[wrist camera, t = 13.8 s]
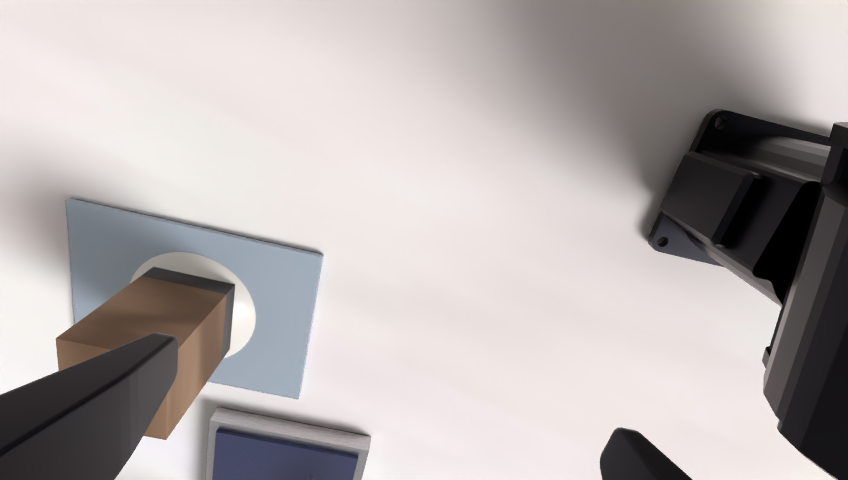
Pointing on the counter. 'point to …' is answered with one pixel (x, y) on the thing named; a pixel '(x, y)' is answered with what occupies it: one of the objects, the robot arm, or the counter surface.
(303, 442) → the tray
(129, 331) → the stamp
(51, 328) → the counter surface
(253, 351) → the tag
